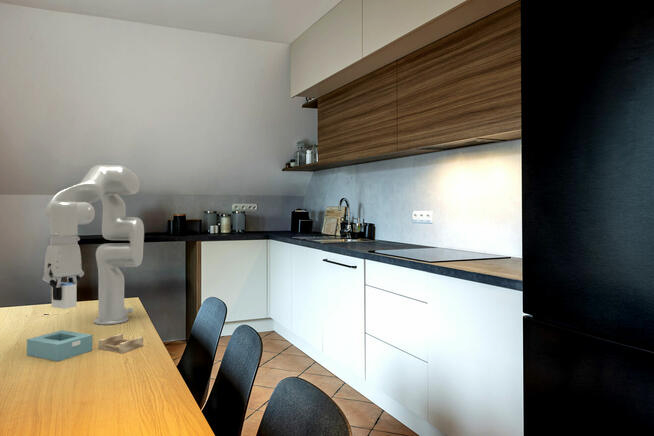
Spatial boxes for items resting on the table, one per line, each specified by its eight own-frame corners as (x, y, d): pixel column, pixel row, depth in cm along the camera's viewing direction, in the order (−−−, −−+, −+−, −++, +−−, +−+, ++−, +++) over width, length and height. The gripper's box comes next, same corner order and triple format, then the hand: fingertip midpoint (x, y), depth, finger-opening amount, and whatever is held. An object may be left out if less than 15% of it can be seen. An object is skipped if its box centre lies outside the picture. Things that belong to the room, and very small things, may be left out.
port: (62, 345, 156) (62, 330, 156) (92, 350, 150) (92, 335, 150) (26, 355, 145) (26, 339, 145) (58, 361, 139) (58, 344, 139)
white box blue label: (62, 304, 150) (63, 281, 150) (76, 306, 148) (76, 282, 148) (51, 307, 147) (51, 283, 147) (65, 308, 145) (65, 284, 144)
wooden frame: (120, 342, 159) (120, 333, 159) (143, 345, 156) (143, 337, 155) (98, 349, 151) (98, 340, 151) (121, 353, 147) (121, 344, 147)
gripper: (78, 239, 156) (78, 293, 157) (30, 242, 141) (30, 302, 141) (95, 239, 153) (94, 295, 154) (47, 243, 138) (47, 304, 138)
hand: (64, 298), depth 147 cm, fingers closed on white box blue label, 4 cm apart
